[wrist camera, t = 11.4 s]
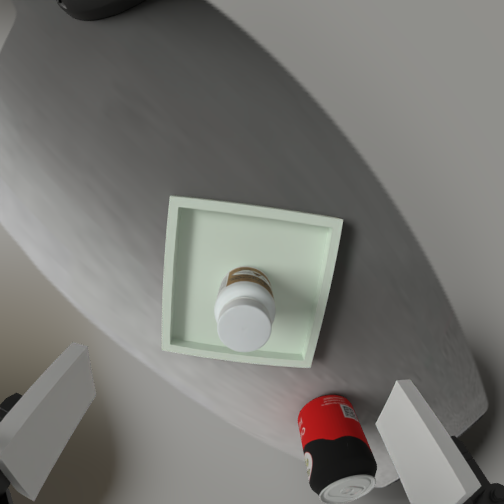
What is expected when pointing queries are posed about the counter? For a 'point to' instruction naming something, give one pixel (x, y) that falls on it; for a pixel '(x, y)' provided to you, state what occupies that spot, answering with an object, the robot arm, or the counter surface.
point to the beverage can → (336, 450)
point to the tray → (246, 254)
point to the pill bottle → (245, 309)
